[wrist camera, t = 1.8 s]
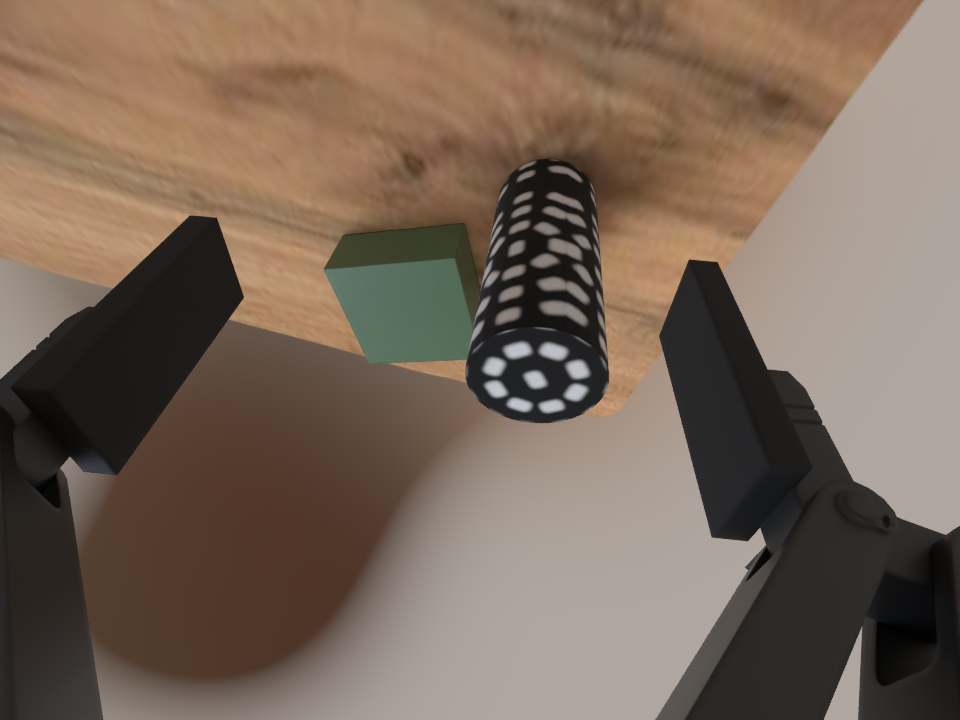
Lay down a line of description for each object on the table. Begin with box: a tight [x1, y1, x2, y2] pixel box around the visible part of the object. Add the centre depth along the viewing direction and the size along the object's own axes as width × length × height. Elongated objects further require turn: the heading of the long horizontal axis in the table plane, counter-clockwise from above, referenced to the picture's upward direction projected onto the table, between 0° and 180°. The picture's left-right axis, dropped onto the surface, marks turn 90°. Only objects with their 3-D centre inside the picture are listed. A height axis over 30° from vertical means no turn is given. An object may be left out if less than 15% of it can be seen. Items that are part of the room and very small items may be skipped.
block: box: [324, 223, 480, 364], centre depth 49 cm, size 12×12×6 cm
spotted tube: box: [466, 159, 609, 423], centre depth 36 cm, size 8×8×20 cm
